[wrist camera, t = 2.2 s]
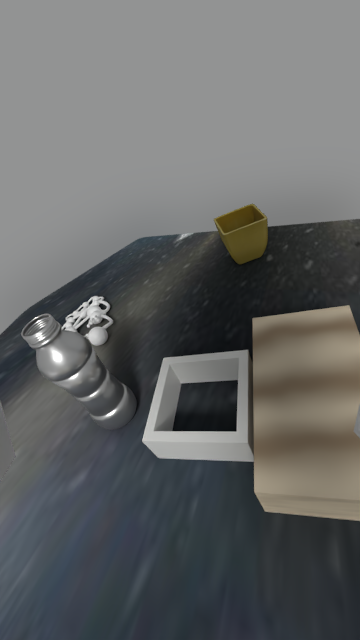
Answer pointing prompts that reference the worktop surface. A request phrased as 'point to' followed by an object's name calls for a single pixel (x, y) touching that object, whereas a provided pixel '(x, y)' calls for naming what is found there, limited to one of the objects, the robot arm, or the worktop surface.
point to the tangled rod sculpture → (91, 320)
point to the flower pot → (243, 233)
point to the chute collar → (202, 442)
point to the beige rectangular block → (307, 413)
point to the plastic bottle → (79, 372)
